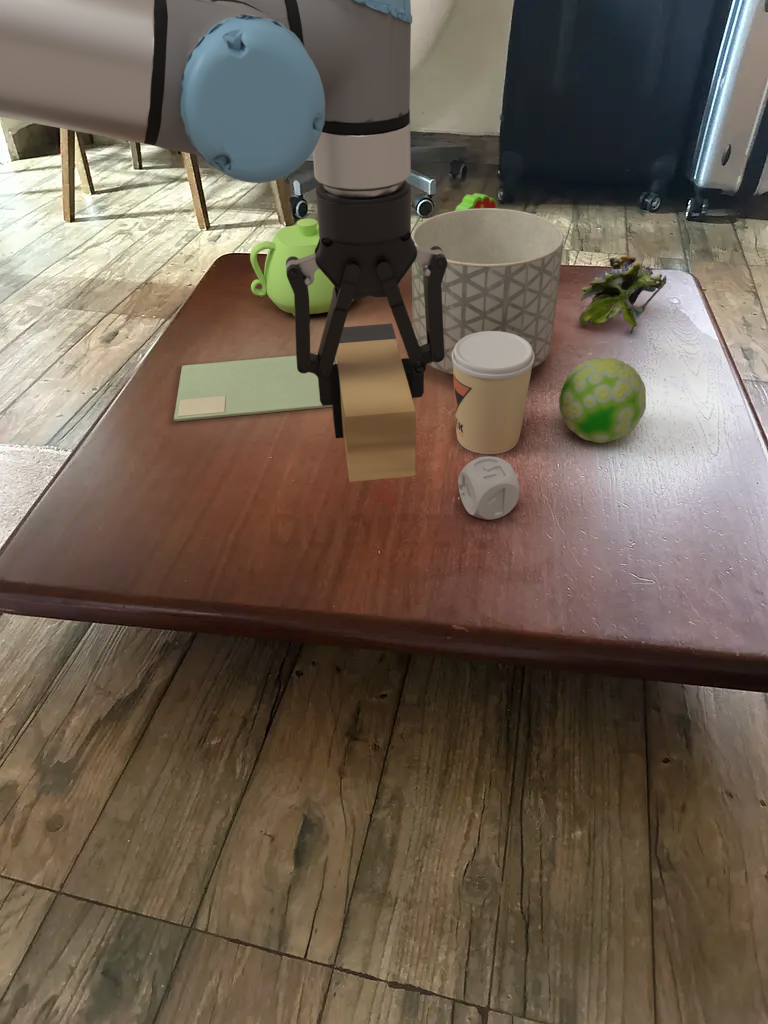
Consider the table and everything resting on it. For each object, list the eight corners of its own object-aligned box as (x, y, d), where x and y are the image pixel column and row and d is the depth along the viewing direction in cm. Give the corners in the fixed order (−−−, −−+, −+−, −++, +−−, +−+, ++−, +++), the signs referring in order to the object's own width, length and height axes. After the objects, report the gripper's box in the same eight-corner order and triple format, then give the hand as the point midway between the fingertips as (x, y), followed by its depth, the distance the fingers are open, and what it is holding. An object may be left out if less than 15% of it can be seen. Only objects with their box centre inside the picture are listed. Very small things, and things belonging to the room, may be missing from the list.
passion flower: (608, 342, 124) (652, 273, 120) (644, 362, 115) (694, 288, 111) (555, 310, 119) (600, 237, 115) (589, 329, 110) (638, 250, 106)
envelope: (174, 421, 101) (173, 418, 101) (182, 367, 111) (181, 364, 111) (358, 404, 103) (358, 401, 102) (349, 353, 113) (349, 349, 113)
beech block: (416, 476, 70) (416, 410, 66) (348, 482, 70) (344, 416, 65) (393, 384, 83) (392, 323, 78) (335, 389, 82) (331, 327, 78)
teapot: (373, 272, 134) (370, 195, 126) (400, 309, 123) (398, 226, 115) (246, 293, 130) (234, 213, 121) (263, 332, 119) (250, 248, 110)
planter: (572, 351, 111) (589, 224, 99) (506, 413, 100) (517, 277, 88) (458, 319, 120) (462, 199, 108) (386, 372, 109) (381, 244, 97)
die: (475, 525, 83) (477, 488, 80) (457, 497, 87) (458, 461, 84) (517, 513, 85) (521, 477, 81) (497, 487, 88) (500, 451, 85)
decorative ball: (609, 406, 100) (622, 335, 94) (654, 448, 93) (671, 375, 86) (540, 422, 98) (548, 351, 91) (580, 467, 91) (592, 393, 84)
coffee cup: (452, 413, 100) (454, 328, 92) (526, 417, 99) (534, 330, 91) (446, 456, 93) (448, 367, 85) (526, 461, 92) (535, 371, 84)
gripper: (472, 160, 65) (461, 398, 80) (242, 174, 63) (274, 414, 78) (492, 189, 59) (476, 440, 74) (240, 205, 58) (275, 458, 73)
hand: (372, 426), depth 76 cm, fingers closed on beech block, 6 cm apart
